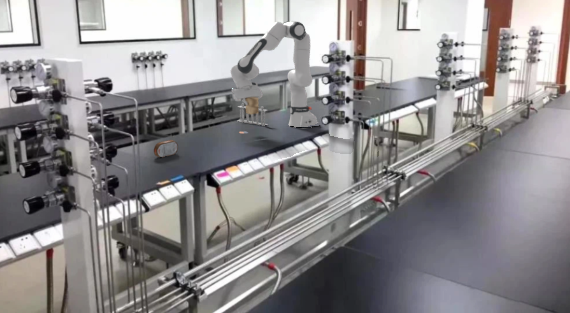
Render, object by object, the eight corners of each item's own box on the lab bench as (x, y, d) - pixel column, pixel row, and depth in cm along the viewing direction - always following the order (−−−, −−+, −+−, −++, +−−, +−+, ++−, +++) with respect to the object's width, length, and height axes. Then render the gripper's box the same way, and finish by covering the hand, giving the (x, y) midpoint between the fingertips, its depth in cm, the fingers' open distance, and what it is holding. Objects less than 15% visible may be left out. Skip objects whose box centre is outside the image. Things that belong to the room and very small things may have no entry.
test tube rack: (268, 125, 362) (268, 106, 359) (264, 126, 359) (264, 107, 355) (241, 120, 376) (240, 102, 373) (237, 121, 373) (236, 103, 369)
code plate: (260, 130, 345) (260, 129, 345) (267, 135, 333) (267, 133, 333) (230, 132, 338) (230, 131, 337) (236, 137, 325) (236, 136, 325)
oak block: (253, 111, 336) (253, 96, 333) (258, 113, 332) (258, 97, 329) (245, 112, 333) (245, 97, 330) (250, 114, 328) (250, 98, 325)
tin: (175, 152, 289) (175, 138, 287) (179, 153, 287) (178, 139, 285) (153, 158, 278) (152, 143, 276) (157, 159, 276) (156, 144, 274)
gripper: (232, 85, 327) (240, 103, 322) (259, 82, 338) (267, 99, 333) (228, 91, 331) (236, 109, 327) (255, 88, 343) (263, 105, 338)
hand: (252, 104), depth 330 cm, fingers closed on oak block, 6 cm apart
